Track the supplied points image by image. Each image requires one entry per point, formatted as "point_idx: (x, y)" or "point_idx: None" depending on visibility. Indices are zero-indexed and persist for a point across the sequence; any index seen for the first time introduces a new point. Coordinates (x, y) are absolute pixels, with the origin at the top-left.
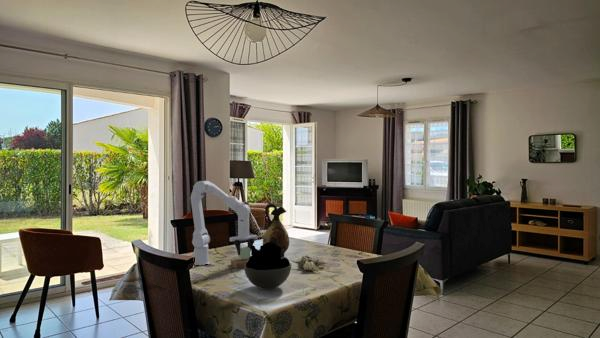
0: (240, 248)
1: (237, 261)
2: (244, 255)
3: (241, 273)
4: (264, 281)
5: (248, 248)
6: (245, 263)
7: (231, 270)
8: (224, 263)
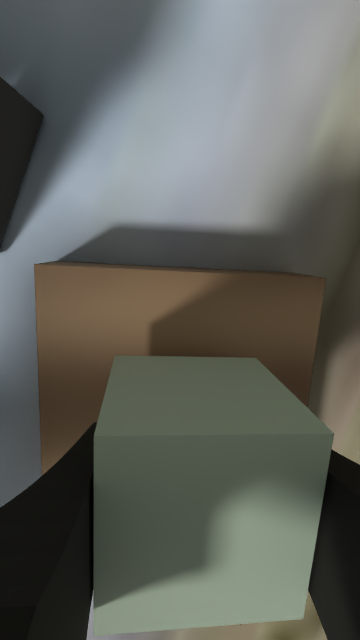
0: (319, 478)
1: (283, 359)
2: (211, 371)
3: (326, 68)
4: None
5: (141, 429)
6: (209, 272)
7: (355, 253)
8: None
